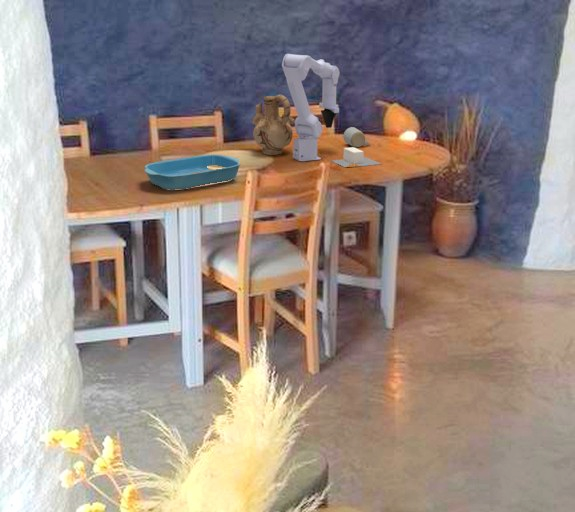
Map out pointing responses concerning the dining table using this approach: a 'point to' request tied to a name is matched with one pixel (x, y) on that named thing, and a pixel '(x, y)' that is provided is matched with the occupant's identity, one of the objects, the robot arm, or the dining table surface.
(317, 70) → the robot arm
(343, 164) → the slate mat
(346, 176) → the dining table surface
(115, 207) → the dining table surface
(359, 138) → the ceramic mug
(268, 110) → the ceramic vessel
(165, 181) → the casserole dish
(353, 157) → the off-white block
